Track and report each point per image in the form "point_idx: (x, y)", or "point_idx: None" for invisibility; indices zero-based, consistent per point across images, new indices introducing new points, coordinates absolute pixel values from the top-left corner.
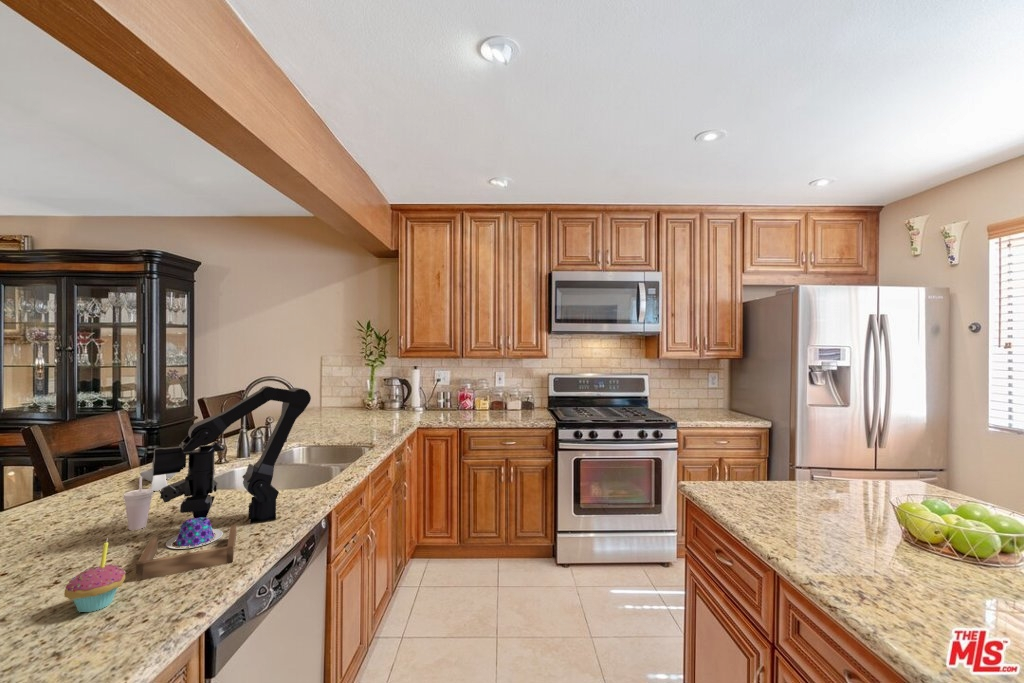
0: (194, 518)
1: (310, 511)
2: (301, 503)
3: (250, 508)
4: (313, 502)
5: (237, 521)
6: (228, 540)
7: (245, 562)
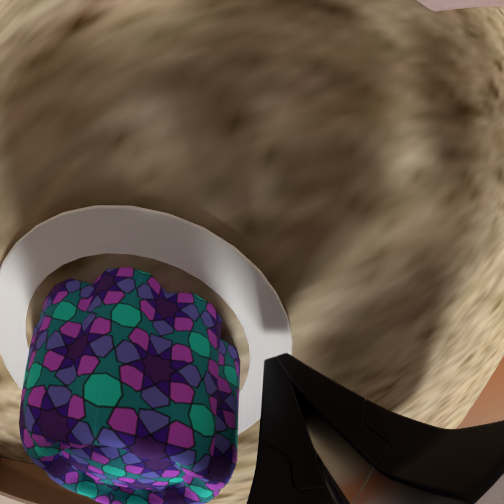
0: (195, 471)
1: None
2: None
3: (339, 497)
4: None
5: None
6: (20, 498)
7: None
